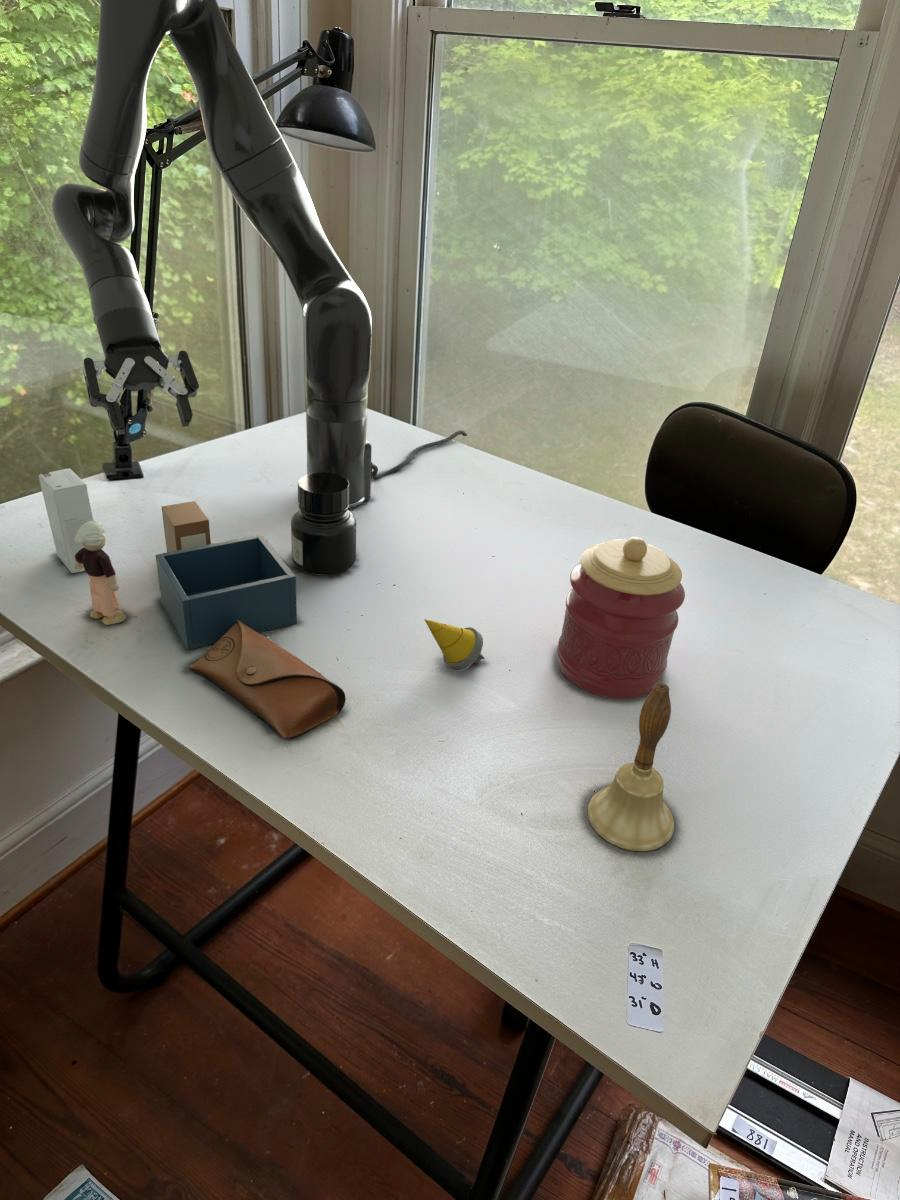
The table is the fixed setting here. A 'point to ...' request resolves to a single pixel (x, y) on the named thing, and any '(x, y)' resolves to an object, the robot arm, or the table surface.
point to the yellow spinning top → (457, 644)
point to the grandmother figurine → (98, 572)
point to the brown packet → (185, 526)
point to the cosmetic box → (66, 512)
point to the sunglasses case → (270, 681)
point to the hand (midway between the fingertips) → (155, 428)
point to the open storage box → (226, 589)
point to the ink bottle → (323, 525)
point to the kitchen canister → (620, 618)
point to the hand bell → (638, 788)
